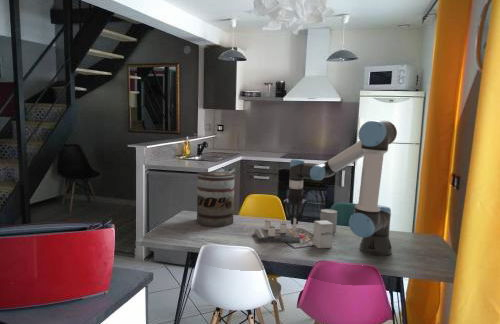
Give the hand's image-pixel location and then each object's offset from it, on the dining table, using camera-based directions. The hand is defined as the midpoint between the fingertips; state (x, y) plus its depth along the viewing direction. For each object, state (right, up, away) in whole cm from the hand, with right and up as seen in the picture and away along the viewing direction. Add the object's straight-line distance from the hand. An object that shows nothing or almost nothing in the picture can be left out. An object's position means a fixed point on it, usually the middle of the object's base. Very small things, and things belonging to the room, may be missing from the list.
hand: (293, 230), depth 200 cm
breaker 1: (-14, 0, +4) cm, 15 cm away
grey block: (+22, -4, +14) cm, 26 cm away
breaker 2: (-13, -1, -7) cm, 15 cm away
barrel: (-46, 0, +27) cm, 53 cm away
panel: (-10, -4, -1) cm, 10 cm away
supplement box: (+13, -6, -12) cm, 19 cm away
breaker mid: (-6, -1, -1) cm, 6 cm away
